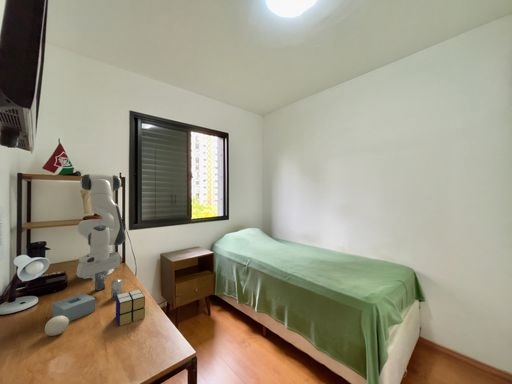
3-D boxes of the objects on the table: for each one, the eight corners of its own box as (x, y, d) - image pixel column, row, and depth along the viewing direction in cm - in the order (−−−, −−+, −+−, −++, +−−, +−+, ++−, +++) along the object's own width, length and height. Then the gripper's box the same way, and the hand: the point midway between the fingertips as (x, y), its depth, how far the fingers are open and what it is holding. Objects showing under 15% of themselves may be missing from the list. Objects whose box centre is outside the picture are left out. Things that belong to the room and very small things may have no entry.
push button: (91, 292, 122) (91, 275, 122) (91, 289, 126) (92, 272, 126) (105, 289, 126) (105, 272, 126) (105, 286, 130) (105, 270, 130)
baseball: (73, 330, 88) (73, 313, 88) (51, 341, 81) (51, 323, 81) (62, 326, 90) (63, 310, 90) (40, 337, 83) (41, 319, 83)
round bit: (109, 297, 116) (110, 281, 116) (118, 294, 120) (119, 278, 120) (114, 300, 114) (114, 283, 114) (123, 296, 118) (124, 280, 118)
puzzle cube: (115, 316, 98) (116, 294, 98) (139, 309, 104) (140, 288, 105) (118, 327, 90) (119, 303, 90) (144, 318, 97) (145, 296, 97)
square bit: (94, 288, 118) (95, 272, 118) (101, 286, 121) (101, 270, 121) (97, 290, 117) (98, 273, 117) (104, 287, 120) (104, 271, 120)
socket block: (51, 316, 98) (52, 302, 98) (83, 304, 108) (83, 292, 108) (63, 323, 92) (63, 309, 92) (95, 310, 102) (95, 298, 103)
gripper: (116, 250, 130) (116, 272, 130) (75, 259, 112) (74, 285, 112) (122, 251, 127) (121, 275, 127) (81, 261, 109) (80, 288, 109)
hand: (99, 280), depth 119 cm, fingers closed on square bit, 3 cm apart
